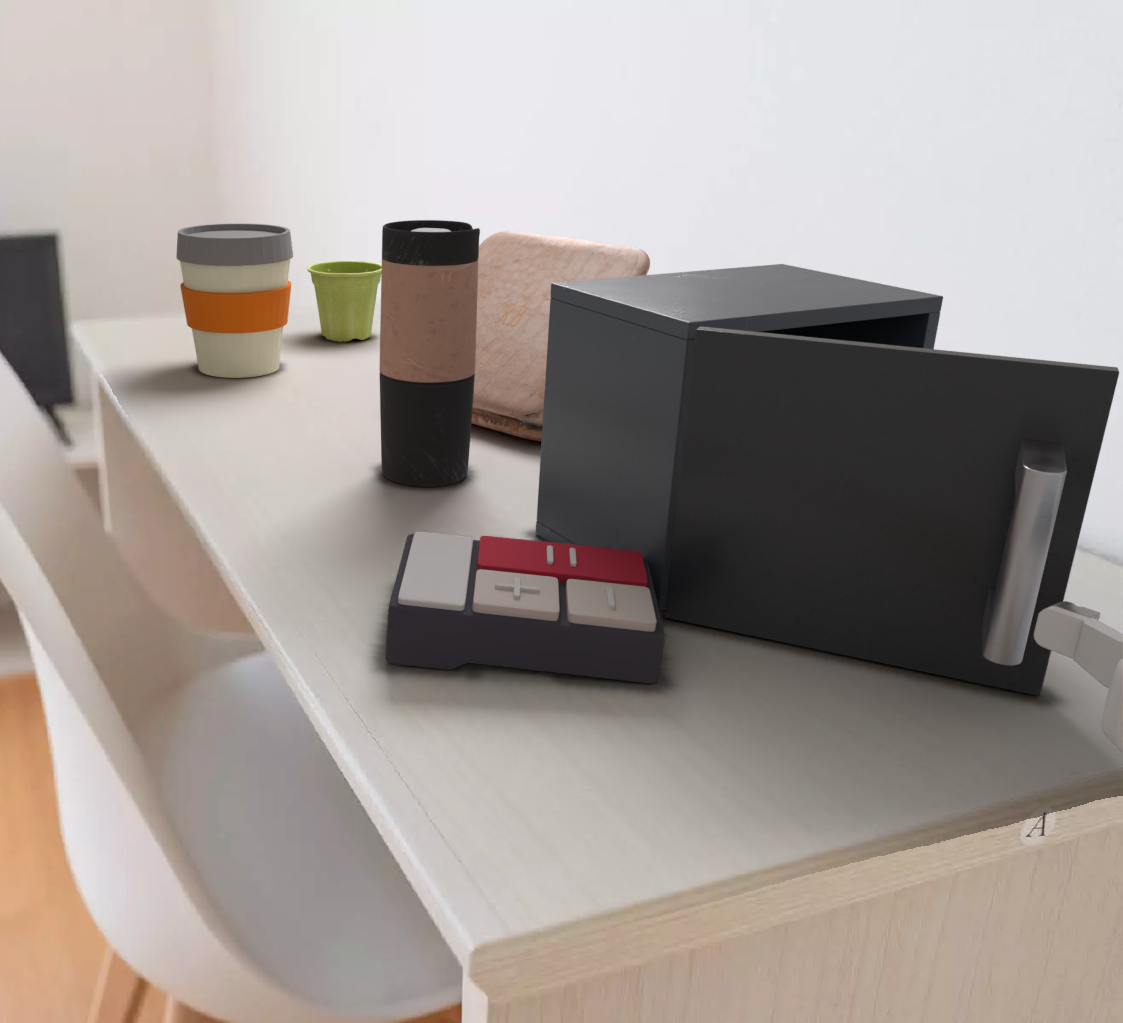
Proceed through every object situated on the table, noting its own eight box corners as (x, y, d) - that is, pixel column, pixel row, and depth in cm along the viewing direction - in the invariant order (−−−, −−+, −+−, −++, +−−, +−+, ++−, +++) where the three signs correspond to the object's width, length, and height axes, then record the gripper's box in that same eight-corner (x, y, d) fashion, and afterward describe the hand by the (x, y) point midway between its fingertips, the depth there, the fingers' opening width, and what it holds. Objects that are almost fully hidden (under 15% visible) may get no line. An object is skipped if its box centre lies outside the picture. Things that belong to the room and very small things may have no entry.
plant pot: (368, 347, 138) (368, 274, 135) (296, 341, 141) (295, 270, 138) (394, 332, 146) (395, 263, 143) (325, 326, 149) (325, 258, 146)
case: (381, 404, 115) (383, 240, 109) (522, 370, 128) (531, 222, 122) (539, 453, 101) (550, 267, 95) (680, 409, 113) (697, 243, 108)
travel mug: (360, 476, 95) (361, 226, 87) (410, 452, 101) (415, 217, 93) (440, 494, 91) (448, 234, 83) (487, 469, 96) (498, 224, 89)
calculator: (668, 625, 61) (388, 594, 63) (656, 695, 63) (383, 663, 65) (649, 545, 71) (408, 520, 73) (639, 608, 73) (403, 582, 75)
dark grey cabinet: (895, 559, 79) (943, 295, 72) (658, 611, 71) (689, 322, 65) (751, 494, 91) (782, 263, 84) (535, 533, 83) (550, 282, 77)
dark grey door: (1042, 745, 57) (1129, 398, 51) (640, 655, 66) (672, 348, 59) (1039, 688, 62) (1118, 367, 56) (668, 611, 71) (699, 325, 65)
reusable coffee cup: (215, 350, 136) (209, 220, 131) (313, 360, 132) (311, 226, 127) (161, 375, 125) (152, 234, 120) (265, 386, 121) (261, 241, 116)
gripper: (1610, 583, 46) (1215, 486, 57) (1439, 738, 35) (992, 581, 46) (1550, 721, 48) (1182, 602, 59) (1374, 906, 37) (962, 720, 48)
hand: (1097, 594), depth 52 cm, fingers open, 8 cm apart
